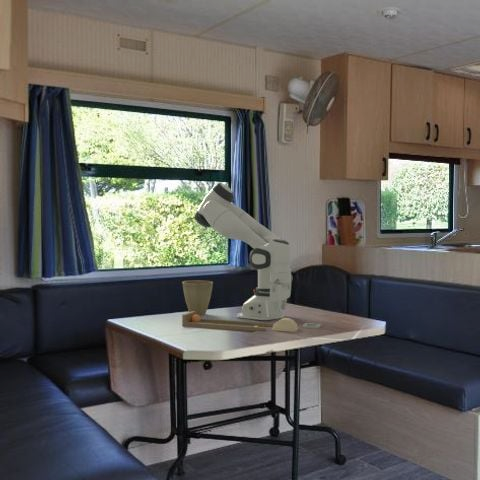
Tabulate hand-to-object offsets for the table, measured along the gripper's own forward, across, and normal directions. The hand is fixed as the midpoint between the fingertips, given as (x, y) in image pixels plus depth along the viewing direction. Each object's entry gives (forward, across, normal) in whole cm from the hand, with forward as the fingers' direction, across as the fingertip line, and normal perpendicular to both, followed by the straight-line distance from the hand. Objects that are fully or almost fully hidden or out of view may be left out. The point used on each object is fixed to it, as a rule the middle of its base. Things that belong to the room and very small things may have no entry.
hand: (280, 311), depth 248 cm
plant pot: (+8, +24, +48) cm, 55 cm away
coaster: (+8, +10, -11) cm, 17 cm away
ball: (+6, +1, +37) cm, 37 cm away
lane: (+13, 0, +18) cm, 22 cm away
